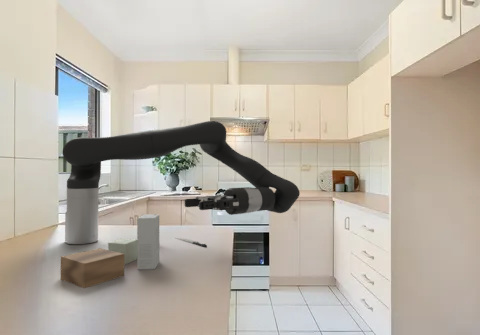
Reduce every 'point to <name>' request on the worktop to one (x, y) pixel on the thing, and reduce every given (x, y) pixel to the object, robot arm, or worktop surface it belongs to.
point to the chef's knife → (193, 242)
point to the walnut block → (92, 267)
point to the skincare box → (147, 241)
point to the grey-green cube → (125, 248)
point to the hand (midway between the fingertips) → (192, 204)
